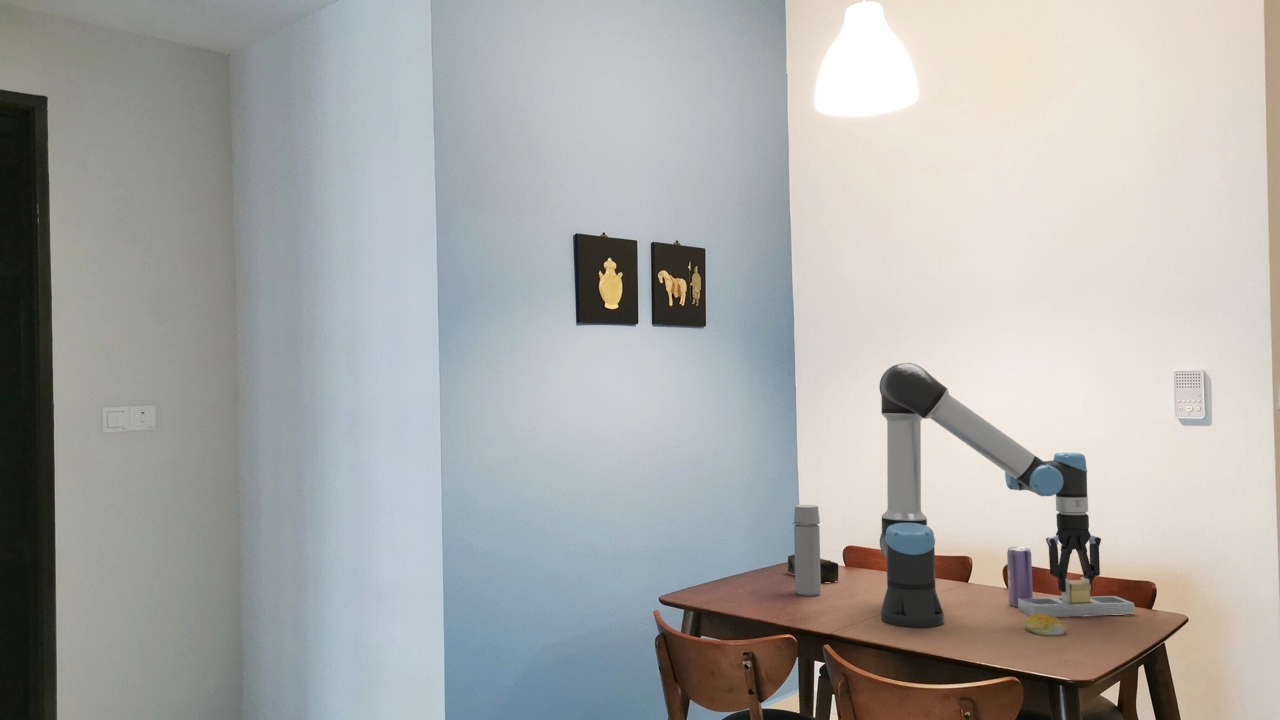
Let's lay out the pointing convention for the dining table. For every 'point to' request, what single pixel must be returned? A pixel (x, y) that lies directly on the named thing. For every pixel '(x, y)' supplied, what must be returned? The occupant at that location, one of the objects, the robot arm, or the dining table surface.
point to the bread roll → (1044, 625)
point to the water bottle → (807, 550)
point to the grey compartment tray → (1075, 606)
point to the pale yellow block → (1079, 592)
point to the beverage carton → (826, 569)
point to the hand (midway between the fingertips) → (1076, 604)
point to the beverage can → (1019, 574)
